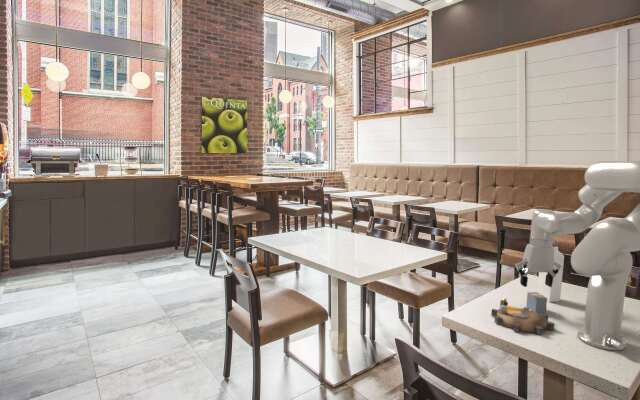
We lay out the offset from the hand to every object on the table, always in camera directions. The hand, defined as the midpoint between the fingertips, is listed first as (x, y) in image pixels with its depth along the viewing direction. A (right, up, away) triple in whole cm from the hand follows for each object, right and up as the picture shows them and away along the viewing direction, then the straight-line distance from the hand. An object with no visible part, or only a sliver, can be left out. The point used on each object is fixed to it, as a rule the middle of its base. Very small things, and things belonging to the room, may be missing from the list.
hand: (535, 285), depth 149 cm
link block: (0, -9, 0) cm, 9 cm away
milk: (+12, -8, +12) cm, 19 cm away
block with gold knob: (-12, -9, +1) cm, 15 cm away
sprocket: (-11, -11, -11) cm, 19 cm away
